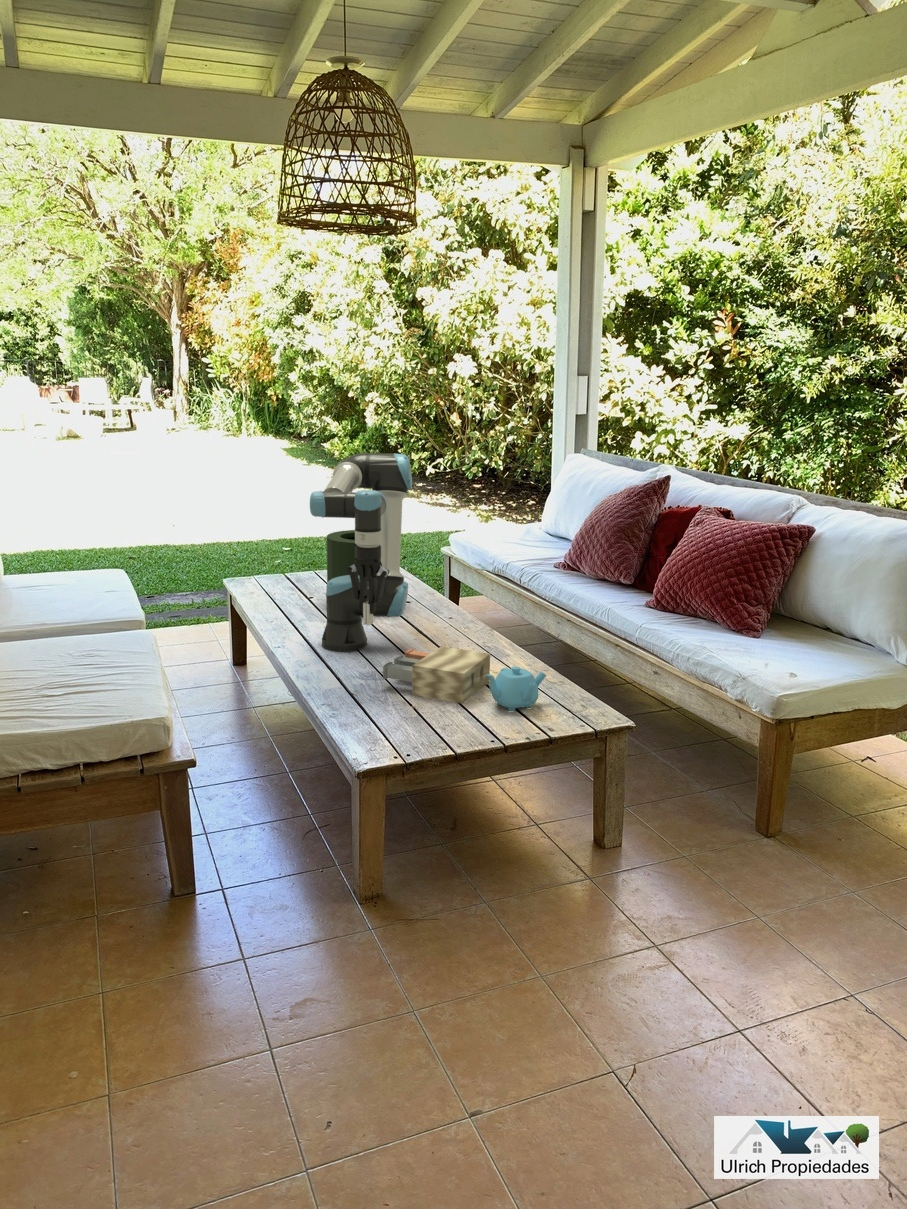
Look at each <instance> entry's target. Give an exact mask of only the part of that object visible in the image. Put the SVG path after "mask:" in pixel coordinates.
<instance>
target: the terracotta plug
mask: <svg viewBox="0 0 907 1209" xmlns="http://www.w3.org/2000/svg"><path fill="white" fill-rule="evenodd" d="M430 653H431V652H427V651H418V650H414V648H409V649H408V650H406V651H405V652H404V657H407V658H413V659H419V660H421V659H423V658H424V657H426V656H427V655H429V654H430Z"/></svg>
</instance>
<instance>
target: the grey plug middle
mask: <svg viewBox="0 0 907 1209" xmlns="http://www.w3.org/2000/svg"><path fill="white" fill-rule="evenodd" d="M393 660H394V661H393V664H398V665H404V666H410V667H413V665H414V664H415V663H417V662H418V661H420V660H419V659H413V658H407V657H405V656H404V655H403V654H402V655H398V656H396V657H395V658H394V659H393Z"/></svg>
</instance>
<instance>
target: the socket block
mask: <svg viewBox="0 0 907 1209" xmlns="http://www.w3.org/2000/svg"><path fill="white" fill-rule="evenodd" d="M429 653H430V654H429V655H427V656H426V657H424V658H423V659H421V660H420V661H418V662H417V663H415V664H414V665H413V670H412V682H411V683H412V687H411V689H412V690H411V692H412V694H411V695H412V696H418V697H423V698H428V699H435V700H441V701H445V702H451V703H456V704H462V705H463V704H464V703H466V702H467V701H468V700H470V699H471V698H472V697H473V696H474V695H476V694H477V693H478V692H479V691H481V690H482V689H483V688H484V687H485V686H486V685H489V684H490V680H489V678H488V676H486V675H485V674H490V675H491V673H490V670H491V669H490V668H491V653H487V652H481V651H474V650H470V649H469V650H468V649H462V648H454V647H449V646H448V647H447V646H440V647H438V648H436V649H435V650H434V651H432V652H429Z"/></svg>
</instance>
